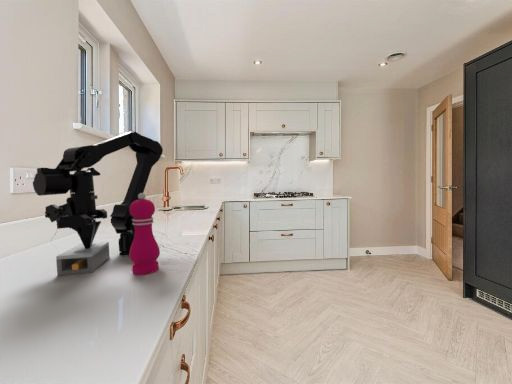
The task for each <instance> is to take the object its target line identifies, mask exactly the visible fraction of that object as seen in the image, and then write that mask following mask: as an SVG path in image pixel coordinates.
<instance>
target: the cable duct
mask: <svg viewBox="0 0 512 384" xmlns="http://www.w3.org/2000/svg"><path fill="white" fill-rule="evenodd" d="M110 258H111V257H110V245H107V246H106V247H105V248H103V249H102V250H100V251H99V252H98V253H96V254H95V255H93V256H92V257H83V258H70V259H57V260H56V259H55V260H56V273H57V276H67V275H77V274H88V273H93V272H95V271H96V270H97V269H98V268H99V267H101V265H103V264H104V263H106V262H107V260H108V259H110Z"/></svg>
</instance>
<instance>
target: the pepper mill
mask: <svg viewBox="0 0 512 384" xmlns="http://www.w3.org/2000/svg"><path fill="white" fill-rule="evenodd" d="M138 198H139V200H136V201H134V202H133V203H132V204H131V205H130V209H129V211H130V214H131V215H132V216H133V218H134V219H133V220H132V221H133V223H132V224H133V225H134V227H135V236H134V240H133V243H132V245H131V248H130V254H128V255H129V256H128V258H129V260H130V261H131V262H132V263H134V264H132V265H131V267H132V268H131V269H132V271H131V272H132V274H134V275H138V276H139V275H142V276H143V275H150V274H152V273H155V272H157V271H158V270H159V261H157V260H158V259H159V258H160V253H161V251H160V246H159V245H158V243H157V240H156V239H155V236H154V232H153V224H154V217H153V216H154V214H155V211H156V207H155V204H154V202H153V201H151V200H150V199H146V194H145V193H144V192H143V193H140V194H139V195H138Z"/></svg>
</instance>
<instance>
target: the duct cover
mask: <svg viewBox="0 0 512 384" xmlns="http://www.w3.org/2000/svg"><path fill="white" fill-rule="evenodd" d="M107 245H109V241H105V242H103V241H102V242H92V245H91V248H89V249H85V247H84V245H83V243H78V244H77V245H74V246H73V247H71V248H70V249H67V250H65V251H63V252H61V253H60V254H57V255H56V256H55V260H57V259H70V258H83V257H92V256H93V255H95V254H96V253H98V252H99V251H100V250H102V249H103V248H105V247H106V246H107ZM109 246H110V245H109Z"/></svg>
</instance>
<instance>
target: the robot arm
mask: <svg viewBox="0 0 512 384" xmlns="http://www.w3.org/2000/svg"><path fill="white" fill-rule="evenodd" d="M127 147H128V148H129V149H130V150H131V151H133V152H134V153H135V159H136V166H135V168H134V171H133V173H132V177H131V180H130V183H129V186H128V187H127V190H126V194H125V196H124V199H123V201H122V202H121V203H119V204H114V205H113V208H112V212H111V214H110V215H109V217H110V224H111V226H112V227H113V228H114V230H115V233H116V234H119V239H118V252H119V255H129V254H130V248H131V245H132V243H133V240H134V236H135V227H134V225H133V224H132V223H133V221H132V220H133V219H134V218H133V216H132V215H131V214H130V211H129V209H130V205H131V204H132V203H133V202H134V201H136V200H139V198H138V195H139V194H140V193H144V192H145V190H146V189H145V188H146V186H147V183H148V180H149V176H150V174H151V172H152V171H151V170H152V169H153V167H154V166H155V165H156V164H157V163H158V161H160V159H161V157H162V155H163V152H164V151H163V147H162V144H161V142H159V141H157V140H154V139H152V138H150V137H147V136H144V135H142V134H141V133H138V132H137V131H134V130H133V131H127V132H126V131H125V132H124V133H122V134H119V135H117V136H115V137H114V136H113V137H112V138H109V139H105V140H103V141H100V142H97V143H94V144H90V145H89V144H88V145H81V146H76V147H69V148H67V149H65V150H64V151H63V154H62V158H61V160H60V162H58V164H57V166H55V168H50V167H37V168H36V174H35V175H34V177H33V181H32V187H33V190H34V192H35V193H36V195H37V196H53V195H54V196H55V195H66V194H67V193H68V192H69V197H67V198H66V200H65V201H66V203H64V204H61V205H57V204H55V203H54V204H53V203H52V204H49V205H47V206H45V211H44V217H45V218H48V219H49V221H50V222H51V223H54V222H55V223H56V229H58V230H59V229H68V228H69V229H72V230H73V231H75V232H76V233H77V235H78V236H79V238H80V240H81V242H82V243H81V244H83V245H84V247H85V249H89V248H91V245H92V243H94V239H95V237H96V234H97V232H98V229H99V227H100V225H101V223H102V221H101V220H98V221H96V219H107V218H108V211H107V210H105V209H104V208H100V209H99V208H98V209H97V204H96V200H97V199H98V195H95V184H94V177H99V176H101V173H100V172H99V171H97V170H96V169H95V168H94V167H93V166H94V165H96V164H97V163H99V162H100V161H101V160H102V159H103V158H104V157H106V156H107V155H110V154H112V153H116V152H117V151H120V150H122V149H125V148H127ZM85 168H86V169H87V170H83V169H85ZM71 172H74V173H71Z"/></svg>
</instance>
